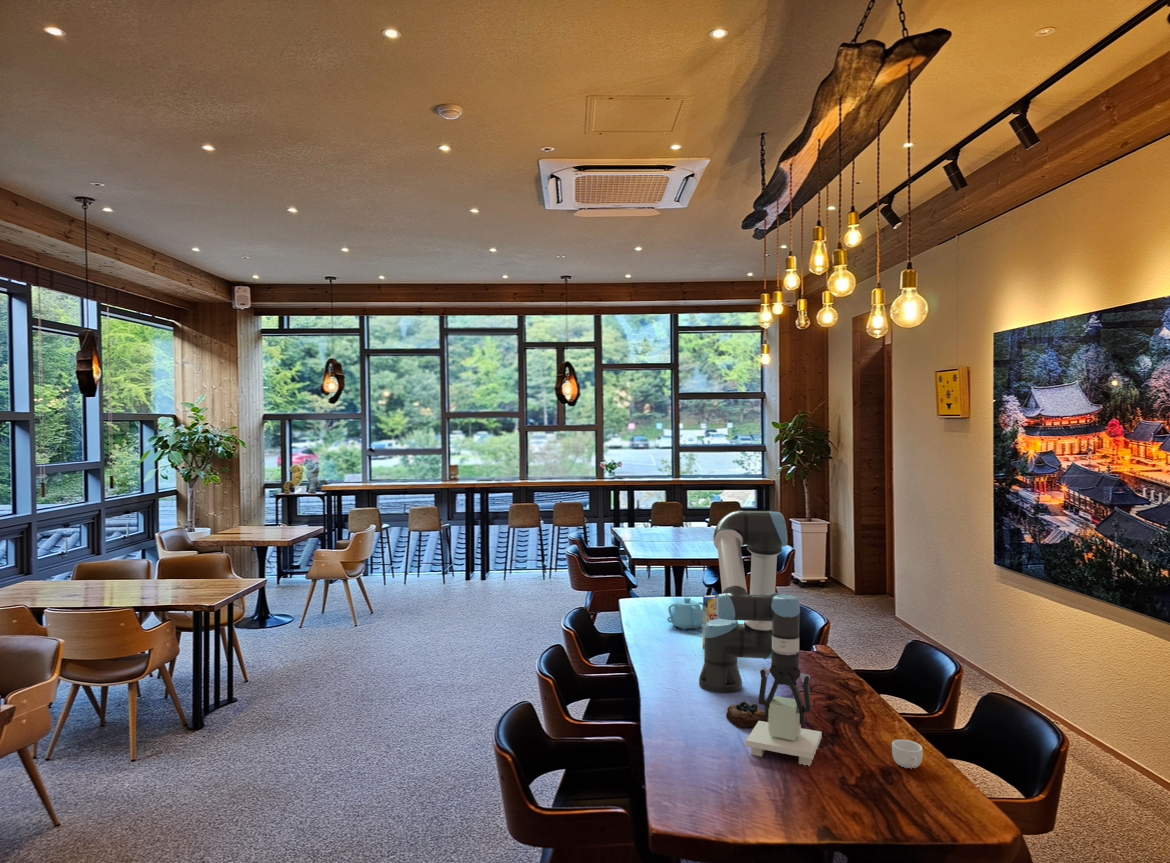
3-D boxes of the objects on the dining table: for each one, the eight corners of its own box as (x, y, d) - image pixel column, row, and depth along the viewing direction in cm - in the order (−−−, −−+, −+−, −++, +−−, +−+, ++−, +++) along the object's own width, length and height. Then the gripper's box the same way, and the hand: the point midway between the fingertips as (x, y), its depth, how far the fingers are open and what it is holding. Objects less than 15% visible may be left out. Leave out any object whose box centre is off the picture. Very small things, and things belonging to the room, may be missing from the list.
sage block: (774, 727, 213) (774, 695, 213) (799, 731, 210) (799, 699, 210) (769, 735, 207) (769, 703, 207) (795, 740, 204) (795, 707, 204)
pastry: (740, 731, 223) (740, 711, 223) (721, 716, 235) (722, 698, 235) (772, 727, 226) (772, 708, 226) (752, 713, 238) (753, 695, 238)
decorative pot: (662, 627, 342) (663, 598, 342) (678, 620, 356) (679, 592, 356) (694, 633, 333) (695, 603, 333) (710, 626, 346) (710, 597, 346)
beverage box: (702, 648, 310) (702, 595, 310) (727, 647, 311) (728, 595, 312) (707, 652, 303) (707, 599, 303) (732, 652, 305) (733, 598, 305)
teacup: (887, 758, 205) (887, 739, 205) (915, 759, 204) (915, 739, 204) (901, 775, 195) (901, 754, 195) (931, 775, 194) (931, 755, 195)
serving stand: (758, 735, 219) (758, 720, 219) (821, 747, 211) (821, 731, 211) (745, 756, 205) (746, 740, 205) (812, 770, 197) (813, 753, 197)
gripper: (747, 649, 209) (746, 730, 209) (820, 659, 201) (819, 744, 200) (753, 643, 216) (752, 721, 216) (823, 652, 207) (823, 734, 207)
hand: (784, 732), depth 208 cm, fingers closed on sage block, 7 cm apart
